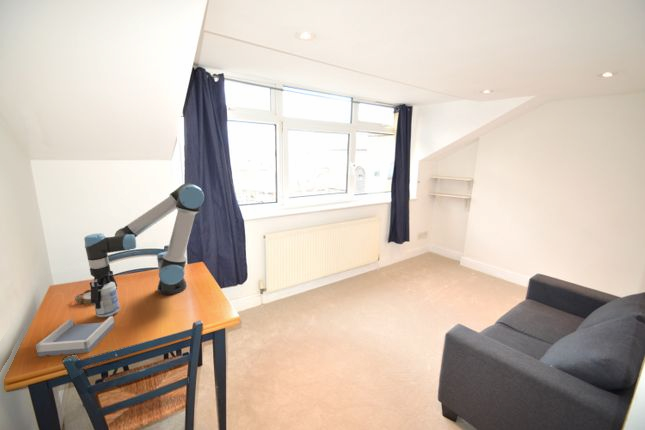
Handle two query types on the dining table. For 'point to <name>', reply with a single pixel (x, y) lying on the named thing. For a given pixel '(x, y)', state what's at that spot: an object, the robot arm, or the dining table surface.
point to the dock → (74, 338)
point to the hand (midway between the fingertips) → (107, 307)
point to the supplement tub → (109, 300)
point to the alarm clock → (84, 298)
